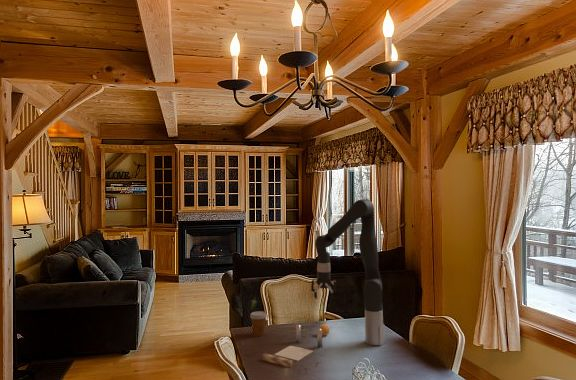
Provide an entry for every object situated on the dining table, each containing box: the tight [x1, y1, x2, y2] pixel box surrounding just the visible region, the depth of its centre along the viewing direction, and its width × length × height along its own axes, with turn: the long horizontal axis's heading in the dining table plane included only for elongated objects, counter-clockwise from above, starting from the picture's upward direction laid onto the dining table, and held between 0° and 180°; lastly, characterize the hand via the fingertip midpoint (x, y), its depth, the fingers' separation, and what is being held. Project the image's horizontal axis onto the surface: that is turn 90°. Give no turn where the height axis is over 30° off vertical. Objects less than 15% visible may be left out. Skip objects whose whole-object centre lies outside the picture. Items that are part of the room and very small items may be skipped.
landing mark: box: [273, 345, 314, 362], centre depth 202 cm, size 14×14×1 cm
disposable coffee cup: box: [249, 310, 268, 337], centre depth 230 cm, size 10×10×12 cm
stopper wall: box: [262, 353, 294, 368], centre depth 191 cm, size 16×2×2 cm, turn 55°
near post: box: [316, 327, 323, 349], centre depth 210 cm, size 3×3×9 cm
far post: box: [295, 323, 302, 344], centre depth 217 cm, size 3×3×9 cm
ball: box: [318, 323, 330, 337], centre depth 227 cm, size 6×6×6 cm
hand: (323, 298), depth 232 cm, fingers open, 8 cm apart
